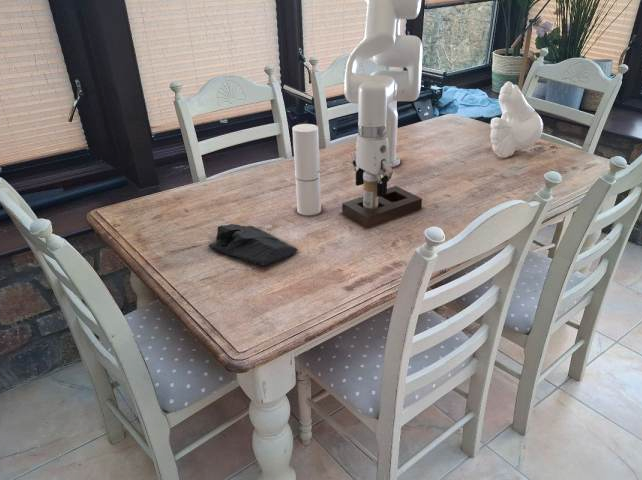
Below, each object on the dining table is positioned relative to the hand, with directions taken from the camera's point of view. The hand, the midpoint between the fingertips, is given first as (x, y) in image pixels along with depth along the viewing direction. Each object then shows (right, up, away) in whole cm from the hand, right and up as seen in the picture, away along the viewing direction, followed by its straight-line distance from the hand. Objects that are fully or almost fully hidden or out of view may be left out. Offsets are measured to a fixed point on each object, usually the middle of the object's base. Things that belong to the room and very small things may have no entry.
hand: (370, 189), depth 155 cm
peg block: (+4, -5, +7) cm, 10 cm away
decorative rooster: (+54, +24, +50) cm, 77 cm away
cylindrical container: (-18, -5, +8) cm, 21 cm away
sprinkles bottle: (0, -7, +5) cm, 9 cm away
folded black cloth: (-32, -18, -12) cm, 38 cm away
